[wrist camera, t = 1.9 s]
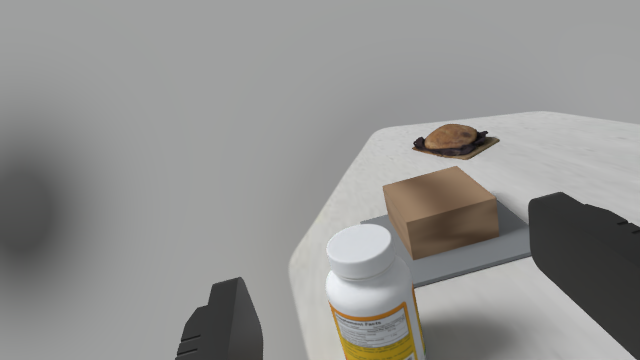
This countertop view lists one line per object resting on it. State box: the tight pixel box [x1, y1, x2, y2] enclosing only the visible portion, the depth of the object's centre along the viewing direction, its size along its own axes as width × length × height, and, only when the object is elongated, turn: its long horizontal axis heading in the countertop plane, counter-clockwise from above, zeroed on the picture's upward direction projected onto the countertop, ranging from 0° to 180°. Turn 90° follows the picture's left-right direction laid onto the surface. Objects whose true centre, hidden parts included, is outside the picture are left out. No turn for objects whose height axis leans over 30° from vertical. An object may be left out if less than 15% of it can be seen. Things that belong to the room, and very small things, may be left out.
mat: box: [360, 200, 531, 288], centre depth 39 cm, size 14×12×1 cm
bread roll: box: [412, 124, 499, 160], centre depth 58 cm, size 11×8×4 cm
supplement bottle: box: [326, 224, 426, 360], centre depth 26 cm, size 5×5×10 cm
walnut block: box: [382, 166, 499, 260], centre depth 39 cm, size 8×8×4 cm
